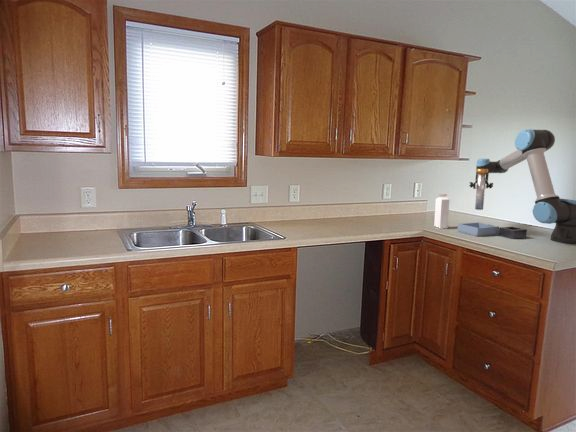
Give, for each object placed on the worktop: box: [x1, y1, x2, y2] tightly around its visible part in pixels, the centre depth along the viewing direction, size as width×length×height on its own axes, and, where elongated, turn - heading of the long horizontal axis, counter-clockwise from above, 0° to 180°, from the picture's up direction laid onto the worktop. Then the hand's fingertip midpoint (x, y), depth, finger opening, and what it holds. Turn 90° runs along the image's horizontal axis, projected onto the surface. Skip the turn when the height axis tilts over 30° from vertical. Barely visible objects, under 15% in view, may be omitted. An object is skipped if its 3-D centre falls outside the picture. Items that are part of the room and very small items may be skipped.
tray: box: [457, 222, 500, 238], centre depth 254 cm, size 16×16×5 cm
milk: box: [433, 193, 450, 228], centre depth 270 cm, size 6×6×22 cm
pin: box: [474, 169, 488, 211], centre depth 251 cm, size 6×6×24 cm
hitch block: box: [498, 226, 528, 240], centre depth 244 cm, size 10×10×5 cm
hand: (480, 186), depth 245 cm, fingers closed on pin, 4 cm apart
